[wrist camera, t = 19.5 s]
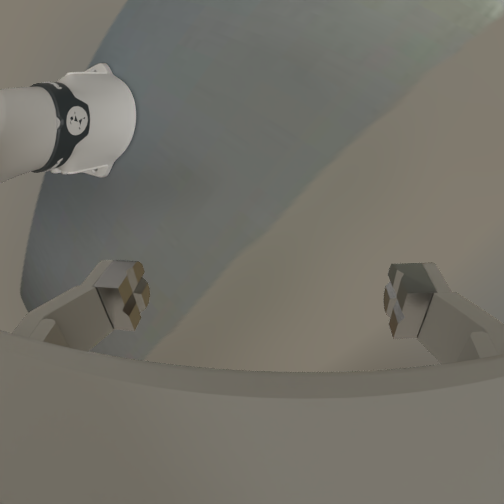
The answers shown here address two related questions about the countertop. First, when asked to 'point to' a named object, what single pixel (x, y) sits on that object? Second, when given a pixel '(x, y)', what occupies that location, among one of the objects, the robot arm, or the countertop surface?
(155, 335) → the countertop surface
